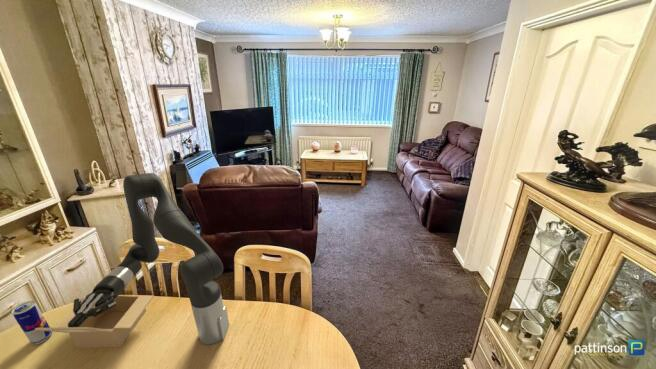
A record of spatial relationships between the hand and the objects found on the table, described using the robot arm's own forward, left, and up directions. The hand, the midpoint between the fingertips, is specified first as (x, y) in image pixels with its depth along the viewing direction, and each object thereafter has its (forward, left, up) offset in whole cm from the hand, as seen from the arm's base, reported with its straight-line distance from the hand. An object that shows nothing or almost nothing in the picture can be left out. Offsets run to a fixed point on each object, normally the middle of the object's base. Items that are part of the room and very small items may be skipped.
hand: (71, 327), depth 74 cm
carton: (0, -11, -15) cm, 19 cm away
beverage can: (+21, -8, -15) cm, 27 cm away
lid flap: (0, -1, -2) cm, 2 cm away
